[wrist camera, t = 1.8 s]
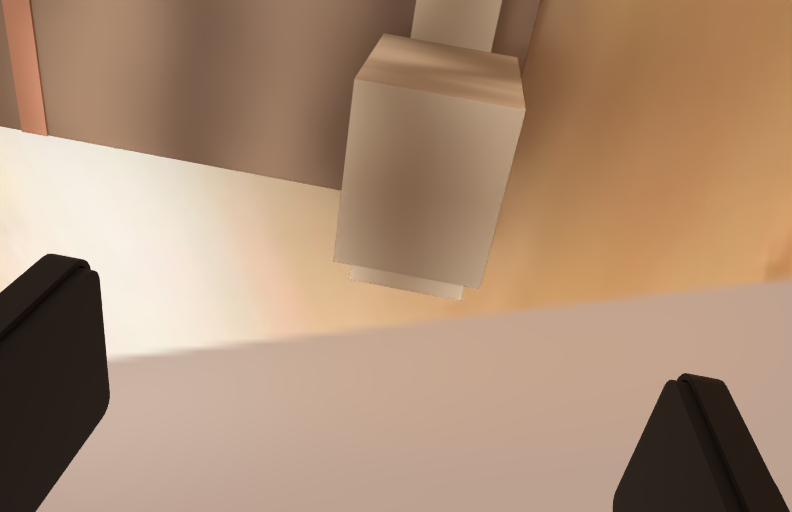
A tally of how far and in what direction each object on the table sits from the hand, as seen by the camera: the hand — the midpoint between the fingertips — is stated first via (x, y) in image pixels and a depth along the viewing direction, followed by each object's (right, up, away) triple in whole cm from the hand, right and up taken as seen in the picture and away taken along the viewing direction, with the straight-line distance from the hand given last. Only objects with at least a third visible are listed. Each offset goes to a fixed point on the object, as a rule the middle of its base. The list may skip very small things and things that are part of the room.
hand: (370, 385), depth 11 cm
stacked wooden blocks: (+2, +8, +14) cm, 16 cm away
